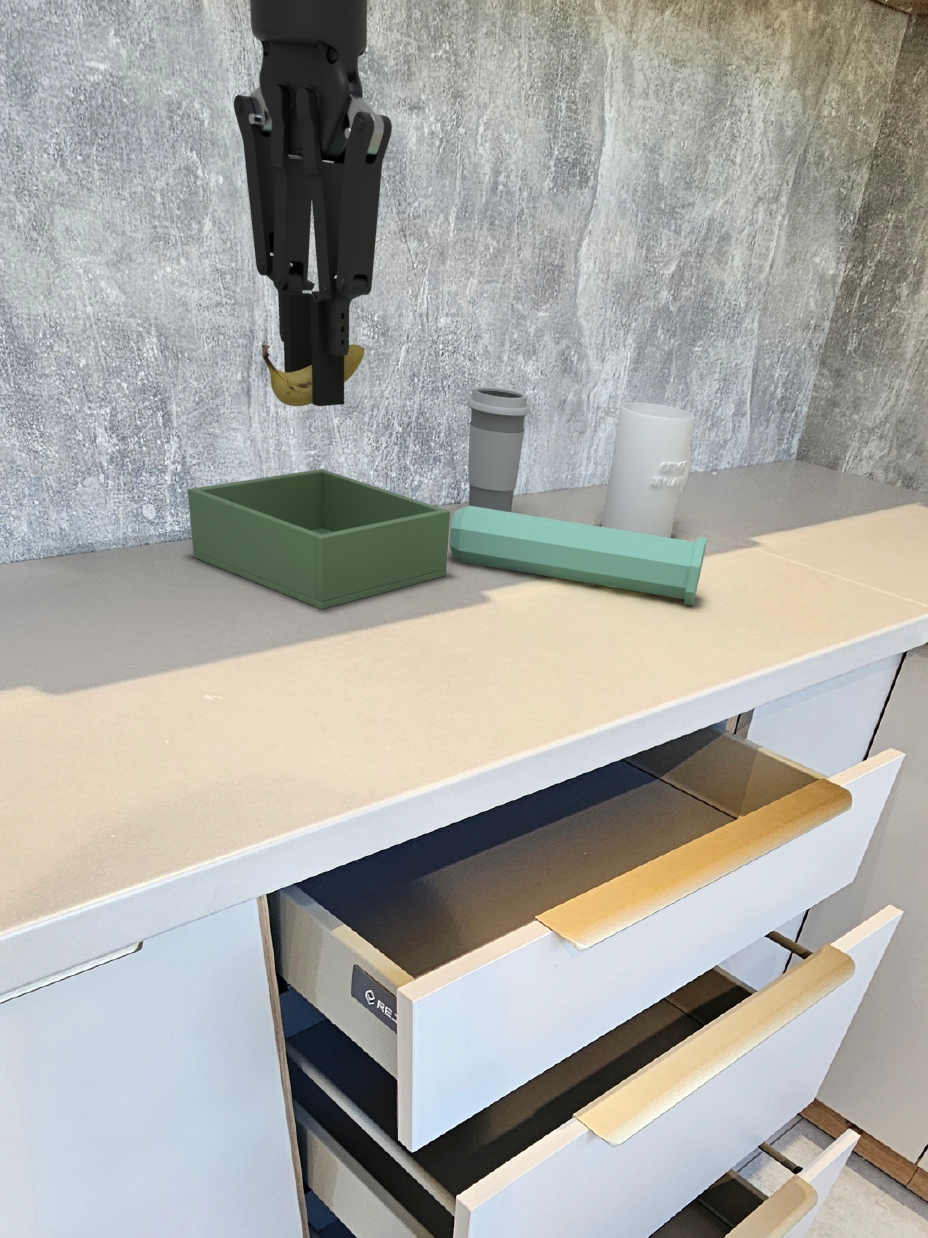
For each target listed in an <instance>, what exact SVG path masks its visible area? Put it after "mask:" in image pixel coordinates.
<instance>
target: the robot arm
mask: <svg viewBox="0 0 928 1238" xmlns="http://www.w3.org/2000/svg"><path fill="white" fill-rule="evenodd" d="M249 9H250V10H249V12H250V28H251V32H252V34H253V36H254V37H255V38H256V39H257V40H258V41H260V43H261V46H262V61H261V67H260V70H259V78H258V82H259V86H258V87H257V88H256V89H255V90H254V91H253V92H251V93H250V94H249V95H242V94H237V95H235V97H234V100H233V110H234V115H235V118H236V121H237V125H238V128H239V132H240V135H241V139H242V145H243V153H244V163H245V174H246V181H247V193H248V201H249V211H250V220H251V221H250V222H251V230H252V236H253V237H252V239H253V248H254V249H253V250H254V258H255V259H254V260H255V267H256V270H257V273H258V274H259V275H260V276H262V277H265V276H266V277H267V278H268V279H269V280H270V281H271V282H272V284H273V286H274V288H275V289H276V290H277V300H278V323H279V324H278V327H279V328H278V329H279V336H280V341H281V342H282V343H283V360H284V361H283V365H284V367H283V368H284V372H286V373H289V372H295V371H298V370H301V369H304V368H306V367H308V366H310V365H312V400H313V403H312V405H313V406H317V407H330V406H340V405H341V406H342V405H345V383H344V355H347V354H348V350H349V345H350V308H351V307H350V306H351V303H352V302H353V300H354V299H356V298H358V297H361V296H368V295H370V294H371V292H372V288H373V275H374V266H375V265H374V263H375V255H376V254H375V253H376V241H377V229H378V220H379V219H378V217H379V206H380V195H381V183H382V174H383V173H382V172H383V163H384V159H385V156H386V152H387V149H388V145H389V143H390V140H391V136H392V131H393V129H392V128H393V125H392V120H391V119H390V117H389V116H388V115H385V114H384V115H383V114H378V113H376V112H374V111H373V109H372V108H371V107H370V106H369V104H367V103H366V101H365V100H364V95H363V94H364V91H363V86H362V82H361V78H360V72H359V58H360V57H362V56H363V55H364V54H365V52H366V51H367V46H368V0H249ZM312 219H313V220H312ZM311 220H312V221H313V231H314V245H315V246H314V247H315V257H316V259H315V260H316V271H317V284H318V291H317V290H314V288H315V286H316V285H315V284H316V283H315V282H312V281H310V279H309V264H310V262H309V260H310V243H311V241H310V239H311V222H312V221H311ZM271 254H272V255H271ZM308 279H309V280H308ZM305 291H310V292H305Z"/></svg>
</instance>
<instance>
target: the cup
mask: <svg viewBox="0 0 928 1238" xmlns="http://www.w3.org/2000/svg"><path fill="white" fill-rule="evenodd" d="M466 406H468V407H469V408H470V421H469V431H468V433H469V435H468V438H469V439H468V442H469V443H468V471H467V472H468V476H467V481H468V484H469V486H468V487H469V488H468V506H474V507H481V508H487V509H493V510H499V511H506V512H512V508H513V507H512V506H513V502H514V501H513V500H514V493H515V489H516V488H517V483H518V482H517V481H518V475H519V469H520V463H521V454H522V448H523V442H524V434H525V428H524V425H525V420H526V416H528V415H529V414H530V413H531V407H530V404H529V403H528V394H527V393H525V392H522V391H520V390H517V389H516V390H515V389H512V388H507V387H499V386H489V385H488V386H487V385H481V386H480V385H479V386H474V387H472V389H471V396H469V397H468V398H467V403H466Z"/></svg>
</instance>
